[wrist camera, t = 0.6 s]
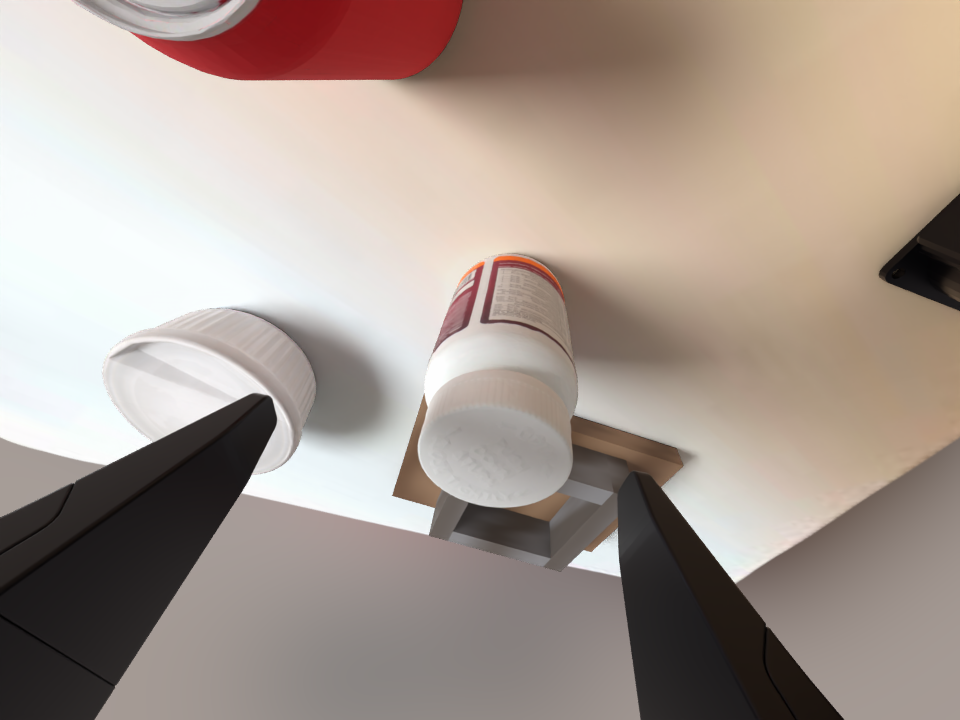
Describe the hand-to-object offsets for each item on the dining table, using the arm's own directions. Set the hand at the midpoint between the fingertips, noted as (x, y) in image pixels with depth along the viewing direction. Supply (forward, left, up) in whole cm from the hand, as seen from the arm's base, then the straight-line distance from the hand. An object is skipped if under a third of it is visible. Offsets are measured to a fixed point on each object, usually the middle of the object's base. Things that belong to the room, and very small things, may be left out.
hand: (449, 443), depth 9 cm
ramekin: (+13, +13, -13) cm, 23 cm away
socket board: (-8, +15, -13) cm, 22 cm away
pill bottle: (-2, +2, -13) cm, 14 cm away
